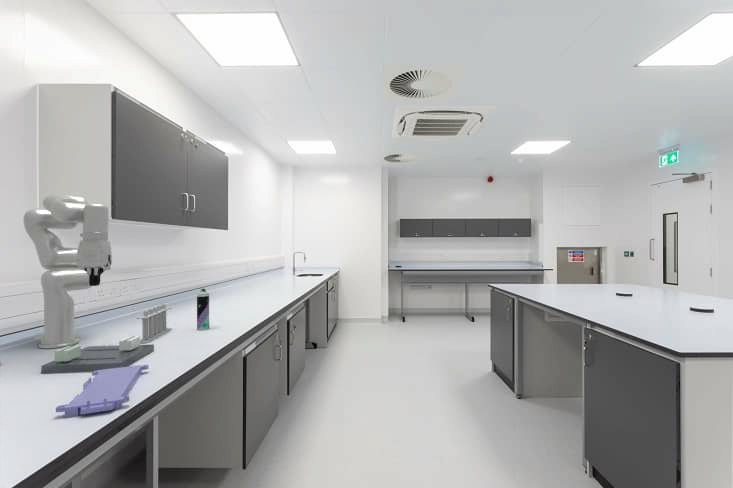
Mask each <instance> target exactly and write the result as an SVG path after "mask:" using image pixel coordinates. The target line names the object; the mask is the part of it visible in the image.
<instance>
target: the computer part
mask: <svg viewBox="0 0 733 488" xmlns="http://www.w3.org/2000/svg"><path fill="white" fill-rule="evenodd" d="M148 369H149V365H148V364H142V365H141V364H140V365H129V366H127V367H120V368H111V369H102V370H97V371H93V372H92V373H91V376H90V377H88V379H87V380H86V381H85V382H84V383H83V385H82V386H83V388H82V389H83V390H82V391H81V392H80V393H78V394H77V395H75V397H73V398H72V399H71V401H70V402H69V403H68V404H67V403H66V404H61V405H58V406H56V407H55V413H64V418H72V417H77V416H79V415H87V414H88V415H89V414H94V413H100V412H101V411H102V412H107V411H112V410H115V411H116V410H119V409H120V408H121V406H122V404H124V403H128V402H129V401H130V396H129V393H130V392H131V390H132V389H133V387H134V386H135V384H136V382H137V381H138V379H139V377H140V376H141V375H142V373H143V371H146V370H148ZM92 376H94V377H93V378H92ZM102 412H101V413H102Z"/></svg>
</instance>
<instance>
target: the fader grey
mask: <svg viewBox="0 0 733 488" xmlns="http://www.w3.org/2000/svg"><path fill="white" fill-rule="evenodd" d="M140 340H141V337H140V336H136V335H132V336H127V337H125V338H122V339H120V340H119V343H118V346H119V351H120V350H132V349H134V348H136V347H138V346H140V345H141V344H140Z"/></svg>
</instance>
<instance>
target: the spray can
mask: <svg viewBox="0 0 733 488" xmlns="http://www.w3.org/2000/svg"><path fill="white" fill-rule="evenodd" d="M209 294H210V293H209V292H207V290H206V288H200V291H199V292H198V293H197V294H196V330H197V331H207V330H210V295H209Z"/></svg>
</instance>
